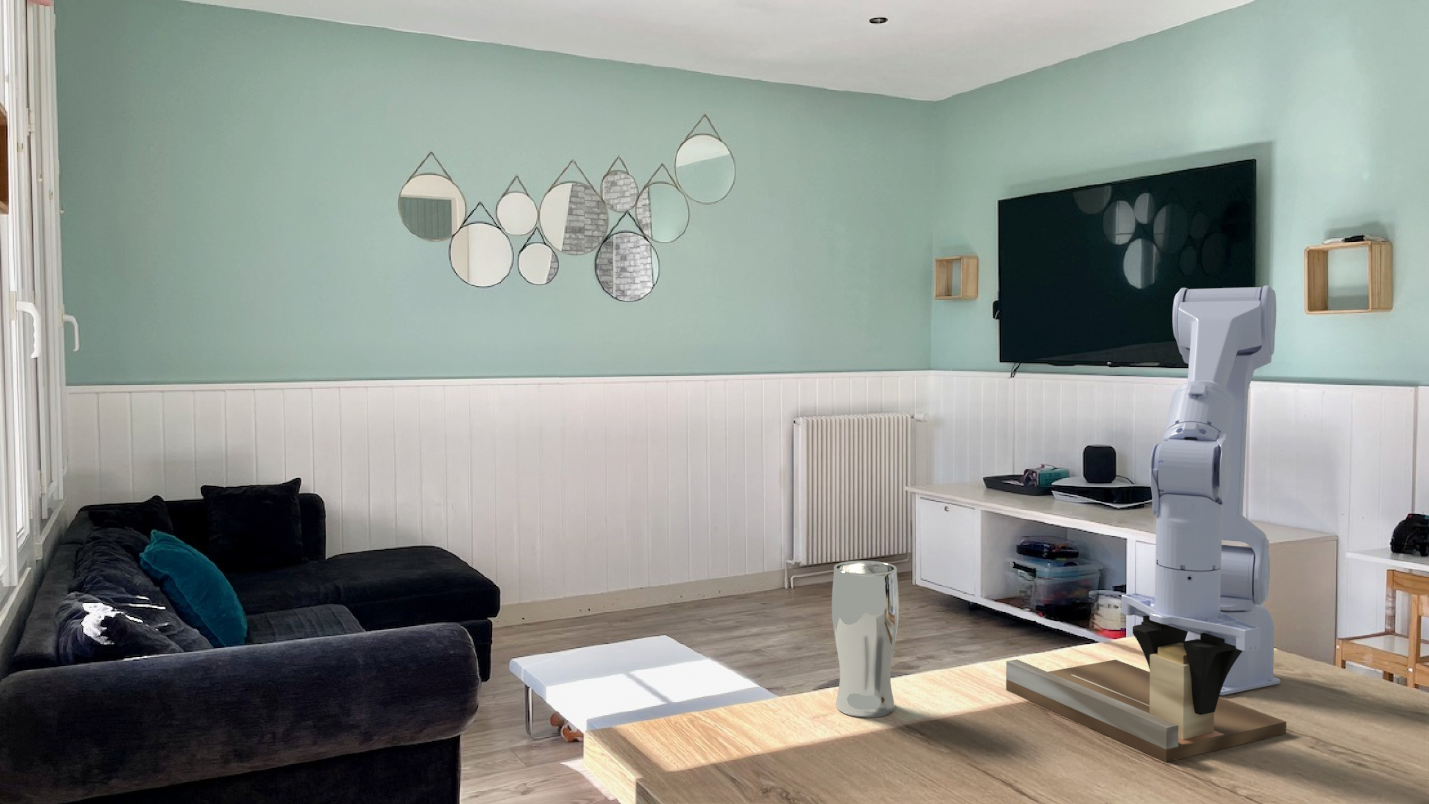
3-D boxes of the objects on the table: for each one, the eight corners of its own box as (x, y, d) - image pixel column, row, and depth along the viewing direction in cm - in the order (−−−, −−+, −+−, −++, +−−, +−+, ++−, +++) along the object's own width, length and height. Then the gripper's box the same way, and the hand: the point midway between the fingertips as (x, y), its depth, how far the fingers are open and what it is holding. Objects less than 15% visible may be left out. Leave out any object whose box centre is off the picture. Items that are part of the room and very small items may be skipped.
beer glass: (896, 697, 115) (896, 560, 114) (901, 720, 108) (901, 575, 107) (831, 695, 115) (831, 559, 114) (832, 718, 108) (832, 574, 108)
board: (1115, 669, 123) (1115, 642, 123) (1286, 733, 103) (1286, 701, 103) (1006, 689, 117) (1006, 661, 117) (1165, 762, 97) (1166, 727, 97)
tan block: (1179, 718, 104) (1180, 640, 104) (1213, 732, 101) (1214, 651, 100) (1149, 725, 103) (1149, 646, 102) (1183, 739, 99) (1183, 657, 98)
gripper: (1099, 554, 106) (1097, 688, 107) (1222, 585, 93) (1219, 737, 93) (1151, 548, 109) (1149, 678, 110) (1278, 577, 95) (1274, 724, 96)
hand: (1185, 704), depth 102 cm, fingers closed on tan block, 4 cm apart
